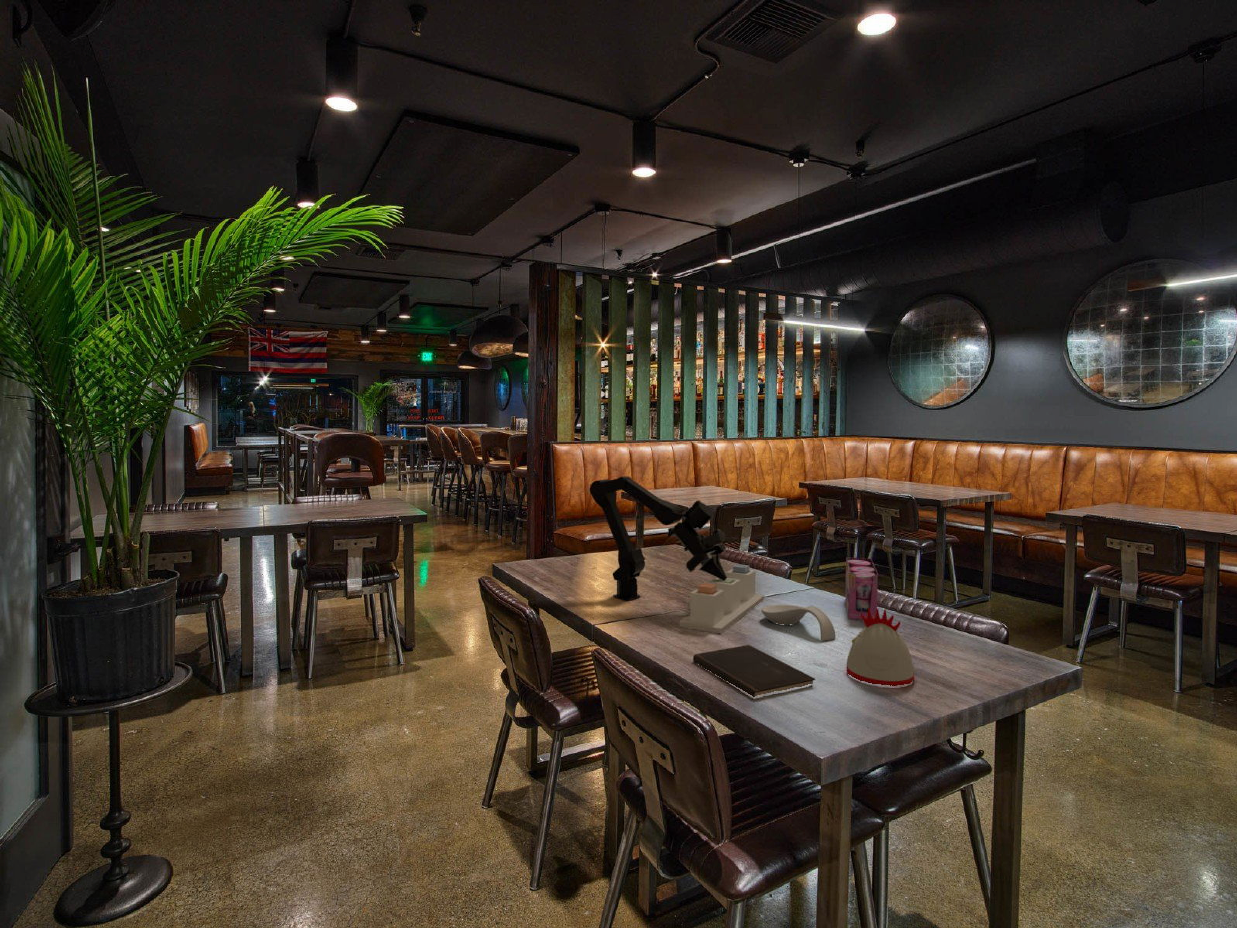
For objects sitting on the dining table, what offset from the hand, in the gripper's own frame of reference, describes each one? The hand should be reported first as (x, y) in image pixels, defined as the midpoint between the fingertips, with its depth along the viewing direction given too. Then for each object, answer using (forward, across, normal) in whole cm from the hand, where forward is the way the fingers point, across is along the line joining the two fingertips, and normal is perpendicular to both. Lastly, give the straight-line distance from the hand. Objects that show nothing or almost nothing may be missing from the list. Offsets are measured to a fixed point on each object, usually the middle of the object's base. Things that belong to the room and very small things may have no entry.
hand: (725, 579), depth 188 cm
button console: (+7, 0, +7) cm, 10 cm away
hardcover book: (+23, -41, -7) cm, 47 cm away
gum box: (+31, +24, -16) cm, 43 cm away
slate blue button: (+2, +14, +2) cm, 14 cm away
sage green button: (+3, 0, +3) cm, 4 cm away
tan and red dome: (+40, -28, -25) cm, 55 cm away
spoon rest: (+23, -3, -8) cm, 25 cm away
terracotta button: (+2, -14, +2) cm, 14 cm away
